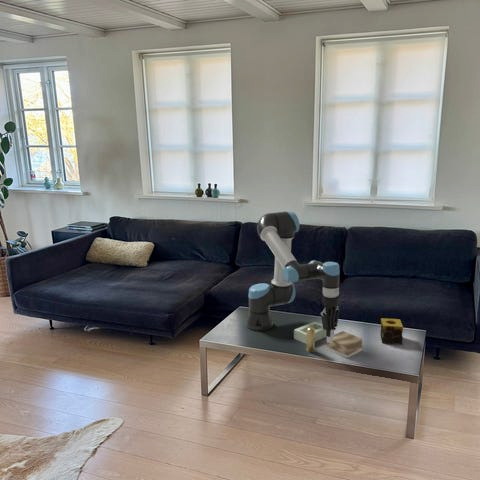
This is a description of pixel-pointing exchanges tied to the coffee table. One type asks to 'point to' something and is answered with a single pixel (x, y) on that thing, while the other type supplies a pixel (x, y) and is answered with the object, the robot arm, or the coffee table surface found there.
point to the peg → (310, 339)
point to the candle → (391, 331)
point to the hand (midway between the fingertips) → (329, 342)
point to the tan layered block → (345, 343)
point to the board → (344, 354)
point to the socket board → (301, 332)
